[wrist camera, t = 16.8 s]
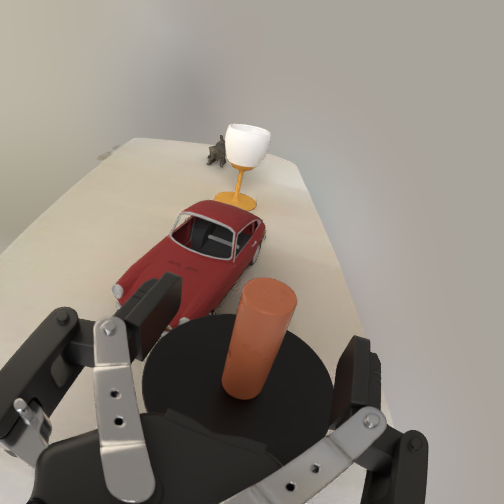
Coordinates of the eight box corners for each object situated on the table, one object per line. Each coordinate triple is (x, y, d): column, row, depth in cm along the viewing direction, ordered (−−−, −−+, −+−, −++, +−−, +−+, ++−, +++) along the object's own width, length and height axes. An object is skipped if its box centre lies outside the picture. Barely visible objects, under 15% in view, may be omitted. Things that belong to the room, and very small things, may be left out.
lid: (343, 474, 15) (427, 405, 10) (128, 465, 13) (96, 390, 9) (313, 331, 25) (352, 243, 21) (159, 313, 24) (163, 213, 19)
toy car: (109, 317, 34) (101, 246, 29) (205, 230, 55) (213, 176, 49) (190, 360, 32) (197, 290, 27) (264, 252, 53) (278, 197, 47)
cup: (209, 205, 63) (222, 128, 55) (219, 189, 71) (231, 121, 62) (253, 215, 63) (271, 138, 55) (258, 198, 71) (273, 130, 63)
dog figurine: (208, 156, 91) (212, 132, 87) (227, 159, 92) (231, 135, 88) (201, 168, 81) (205, 141, 77) (222, 171, 82) (227, 145, 78)
